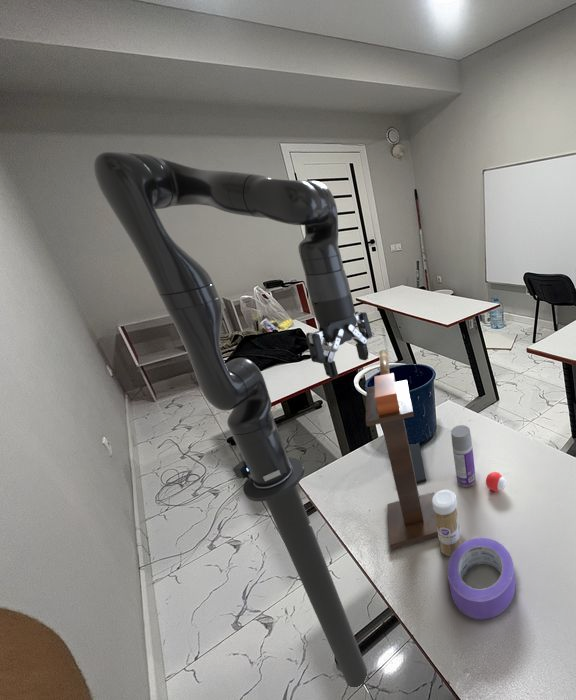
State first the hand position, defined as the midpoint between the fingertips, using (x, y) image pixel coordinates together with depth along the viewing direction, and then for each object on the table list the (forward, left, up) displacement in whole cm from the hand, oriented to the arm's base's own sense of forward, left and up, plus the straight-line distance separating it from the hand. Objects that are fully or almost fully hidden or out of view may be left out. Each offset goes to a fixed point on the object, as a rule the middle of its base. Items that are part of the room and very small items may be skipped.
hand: (349, 367), depth 76 cm
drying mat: (+4, +9, -34) cm, 35 cm away
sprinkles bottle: (+23, -12, -34) cm, 43 cm away
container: (+21, +6, -34) cm, 40 cm away
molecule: (+29, +5, -34) cm, 45 cm away
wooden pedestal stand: (+13, -8, -34) cm, 37 cm away
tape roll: (+31, -18, -34) cm, 49 cm away
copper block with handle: (+10, -2, -2) cm, 10 cm away
